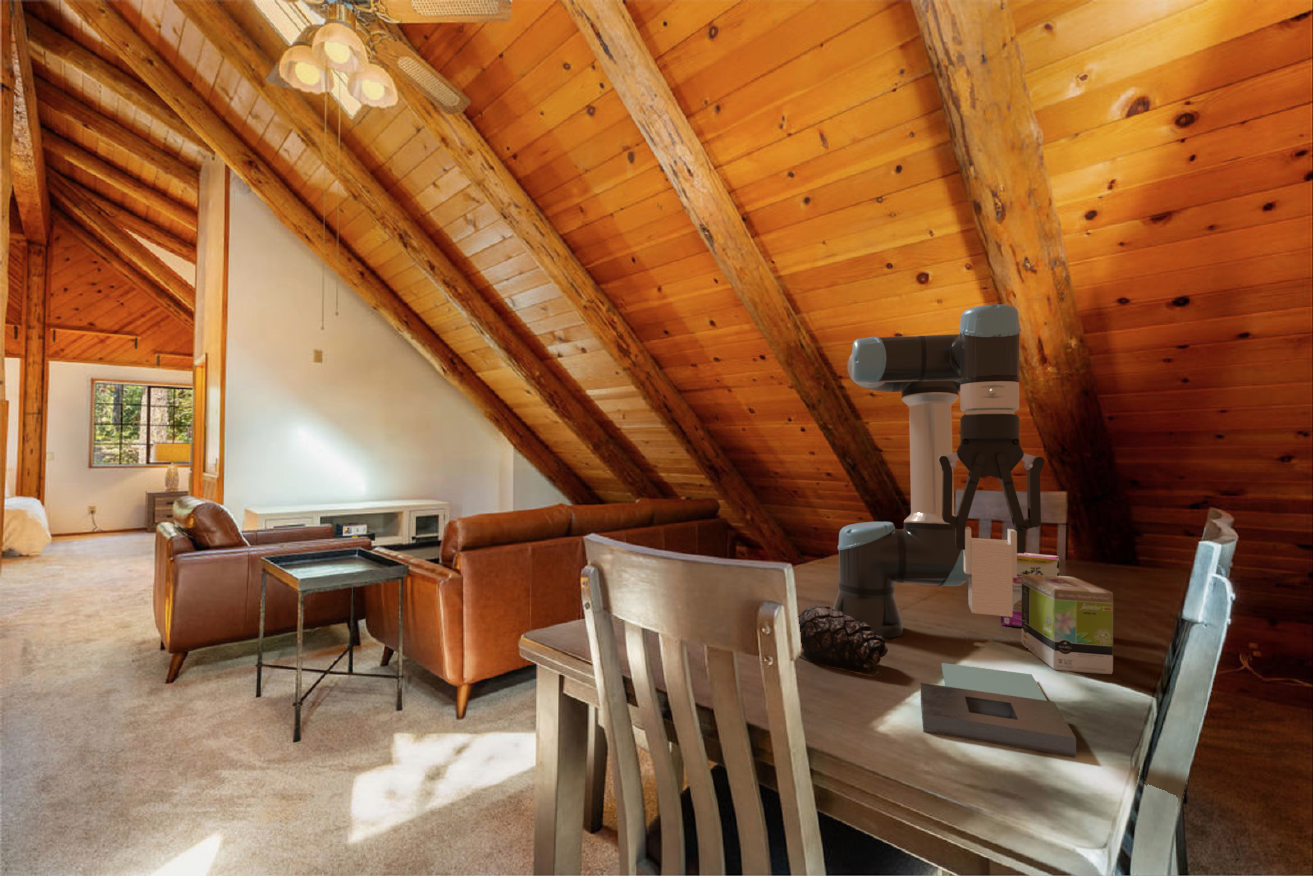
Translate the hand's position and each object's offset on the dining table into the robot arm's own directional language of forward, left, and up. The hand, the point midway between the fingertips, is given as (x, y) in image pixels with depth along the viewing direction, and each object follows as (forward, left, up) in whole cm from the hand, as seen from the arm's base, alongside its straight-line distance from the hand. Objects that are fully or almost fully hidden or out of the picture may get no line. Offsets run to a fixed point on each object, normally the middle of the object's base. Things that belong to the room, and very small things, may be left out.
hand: (989, 573), depth 86 cm
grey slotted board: (0, 0, -22) cm, 22 cm away
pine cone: (-22, +18, -22) cm, 36 cm away
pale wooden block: (0, 0, -5) cm, 5 cm away
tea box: (+17, +37, -22) cm, 46 cm away
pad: (+2, +16, -22) cm, 27 cm away
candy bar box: (+15, +58, -22) cm, 64 cm away
